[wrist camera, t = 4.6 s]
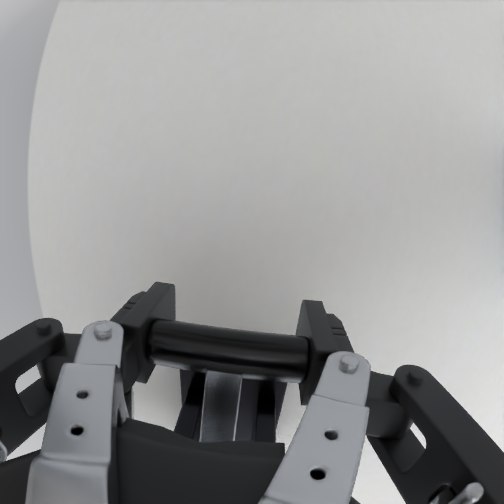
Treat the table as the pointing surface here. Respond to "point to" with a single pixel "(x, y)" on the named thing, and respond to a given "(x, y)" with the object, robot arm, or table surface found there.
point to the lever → (226, 365)
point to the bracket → (249, 413)
